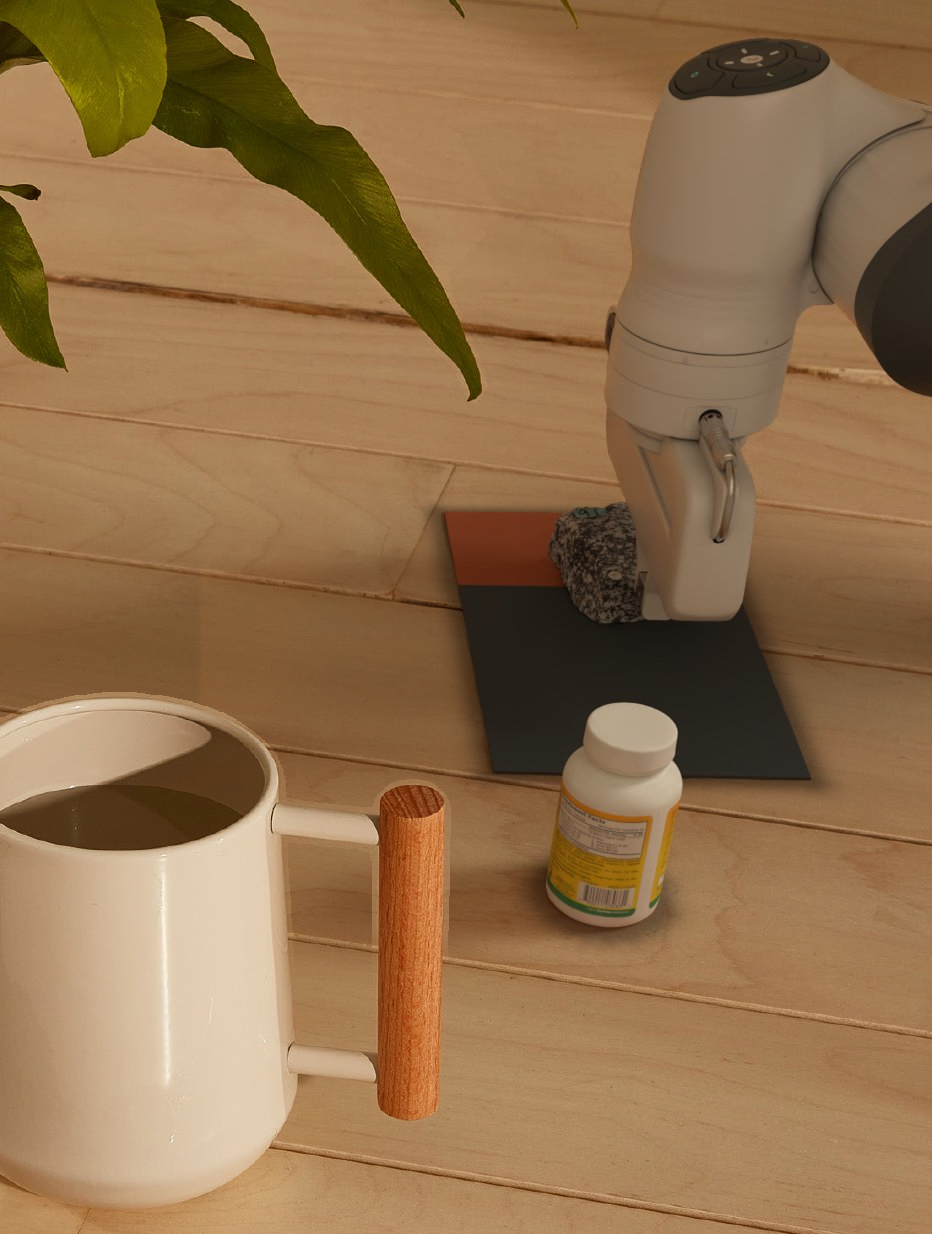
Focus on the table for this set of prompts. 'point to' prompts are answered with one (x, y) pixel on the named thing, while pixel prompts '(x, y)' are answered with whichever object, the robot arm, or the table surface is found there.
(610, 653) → the mat
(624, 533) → the rock
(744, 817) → the table surface
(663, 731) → the supplement bottle
